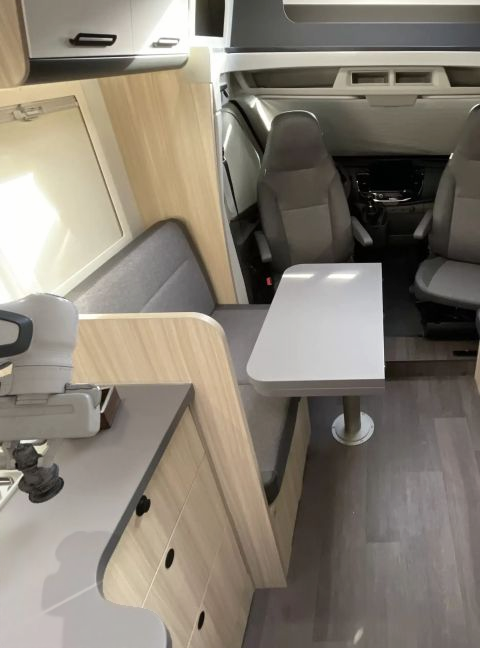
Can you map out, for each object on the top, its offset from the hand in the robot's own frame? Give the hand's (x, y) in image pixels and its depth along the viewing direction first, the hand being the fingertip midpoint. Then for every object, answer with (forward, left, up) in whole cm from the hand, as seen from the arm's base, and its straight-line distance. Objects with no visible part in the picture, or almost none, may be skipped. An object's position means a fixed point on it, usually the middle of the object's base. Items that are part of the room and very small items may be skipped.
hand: (29, 468), depth 74 cm
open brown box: (-1, +25, -13) cm, 28 cm away
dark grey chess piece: (0, +1, -7) cm, 7 cm away
